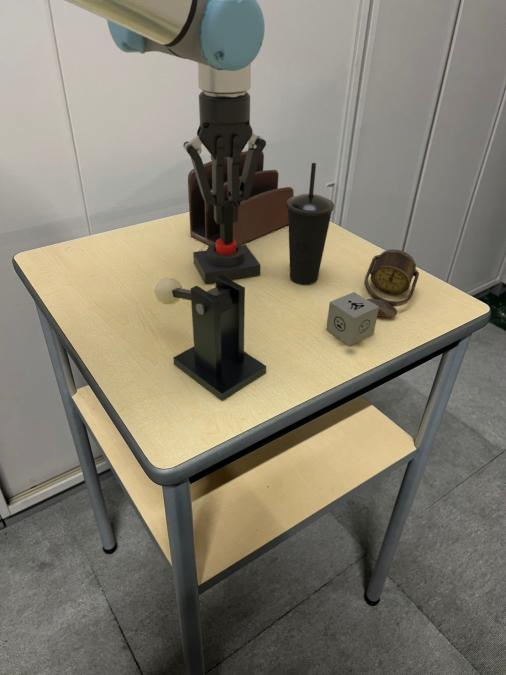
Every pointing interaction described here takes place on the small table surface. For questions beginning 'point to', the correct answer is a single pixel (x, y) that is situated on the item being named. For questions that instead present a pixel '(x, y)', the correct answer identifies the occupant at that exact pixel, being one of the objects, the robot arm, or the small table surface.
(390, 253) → the brown antique clock
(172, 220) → the small table surface
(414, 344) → the small table surface
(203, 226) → the letter holder
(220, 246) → the red button
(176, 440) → the small table surface
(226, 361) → the bracket
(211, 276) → the button box
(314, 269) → the drinking cup
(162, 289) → the lever
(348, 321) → the dice cube
